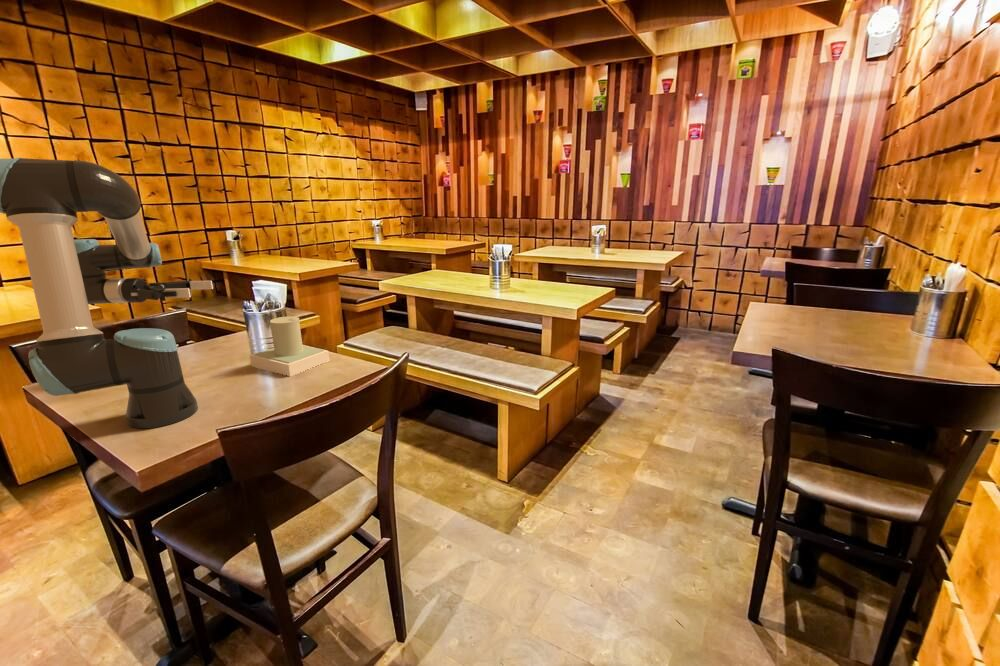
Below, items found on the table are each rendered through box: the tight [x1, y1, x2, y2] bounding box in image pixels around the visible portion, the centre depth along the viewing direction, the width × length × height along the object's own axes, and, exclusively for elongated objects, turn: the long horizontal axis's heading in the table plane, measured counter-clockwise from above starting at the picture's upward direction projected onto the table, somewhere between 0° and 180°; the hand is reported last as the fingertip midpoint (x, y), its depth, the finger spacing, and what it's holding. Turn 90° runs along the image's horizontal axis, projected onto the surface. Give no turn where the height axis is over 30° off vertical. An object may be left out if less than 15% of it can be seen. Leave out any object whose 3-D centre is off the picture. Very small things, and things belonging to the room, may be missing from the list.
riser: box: [249, 345, 331, 377], centre depth 155 cm, size 20×16×4 cm
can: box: [269, 315, 304, 356], centre depth 153 cm, size 9×9×12 cm
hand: (201, 288), depth 141 cm, fingers open, 13 cm apart
